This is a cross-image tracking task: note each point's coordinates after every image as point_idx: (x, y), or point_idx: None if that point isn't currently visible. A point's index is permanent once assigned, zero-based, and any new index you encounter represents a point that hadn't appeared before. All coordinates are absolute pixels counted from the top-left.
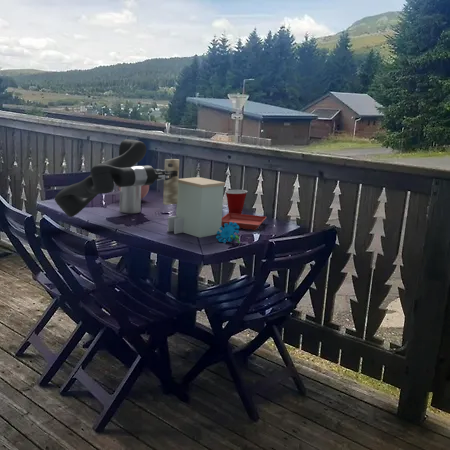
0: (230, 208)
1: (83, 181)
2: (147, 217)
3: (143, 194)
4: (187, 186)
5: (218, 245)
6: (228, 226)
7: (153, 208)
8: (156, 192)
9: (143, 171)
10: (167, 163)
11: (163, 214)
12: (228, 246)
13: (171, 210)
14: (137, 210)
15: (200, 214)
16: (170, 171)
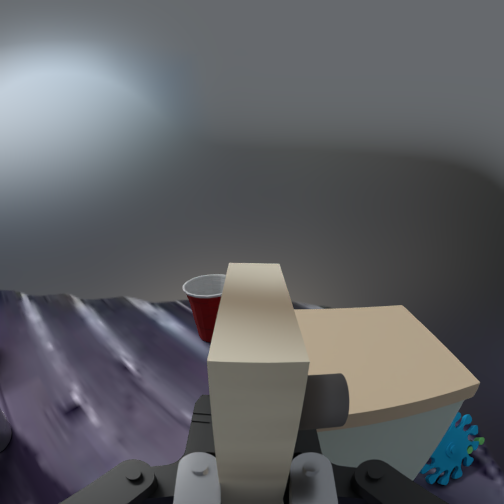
0: (210, 328)
1: None
2: (52, 470)
3: None
4: (354, 430)
5: (467, 494)
6: (445, 434)
7: (27, 386)
8: (4, 305)
9: None
10: (297, 413)
11: (73, 420)
12: (477, 475)
13: (71, 380)
14: (5, 437)
15: (412, 479)
16: (331, 464)
